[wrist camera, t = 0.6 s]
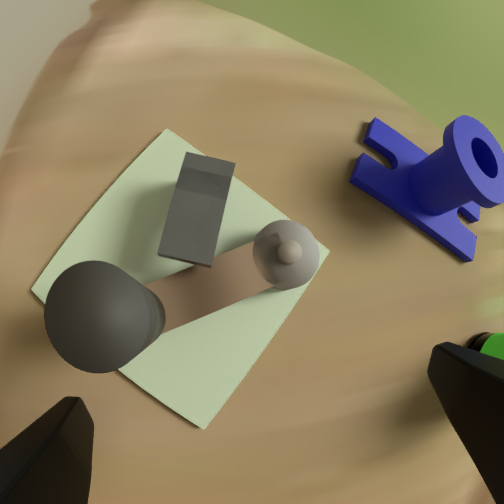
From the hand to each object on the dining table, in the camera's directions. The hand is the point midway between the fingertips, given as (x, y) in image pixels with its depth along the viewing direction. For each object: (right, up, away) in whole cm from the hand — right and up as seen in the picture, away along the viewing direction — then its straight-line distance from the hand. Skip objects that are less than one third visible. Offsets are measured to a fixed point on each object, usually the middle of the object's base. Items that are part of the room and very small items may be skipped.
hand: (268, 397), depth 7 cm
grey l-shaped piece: (-3, +1, +14) cm, 14 cm away
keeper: (-4, +5, +16) cm, 17 cm away
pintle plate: (-5, +2, +15) cm, 16 cm away
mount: (+16, +9, +21) cm, 28 cm away
